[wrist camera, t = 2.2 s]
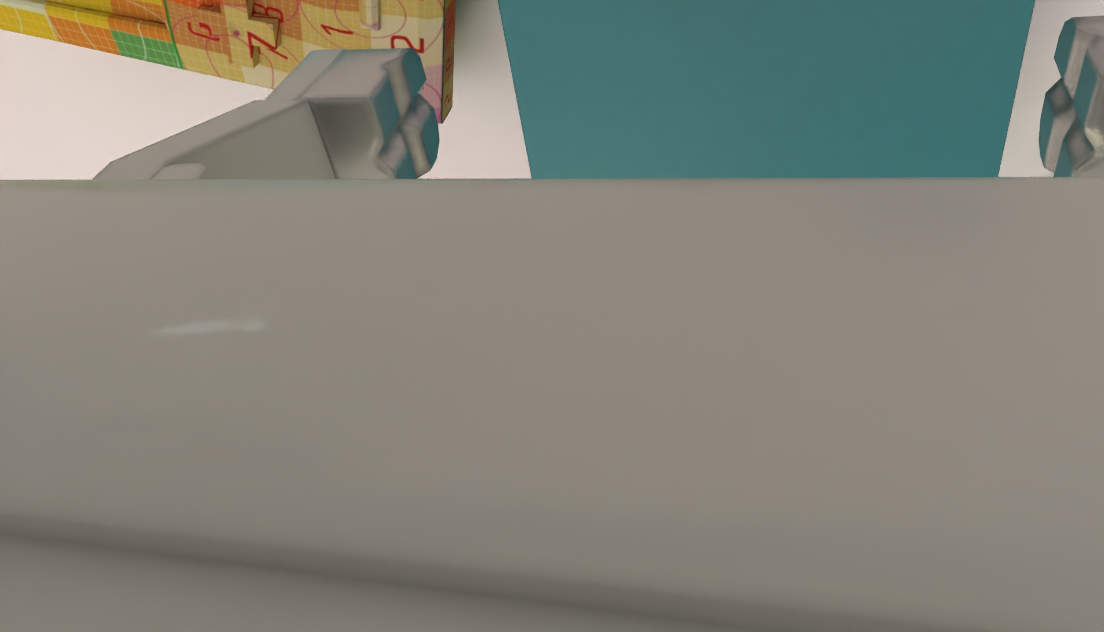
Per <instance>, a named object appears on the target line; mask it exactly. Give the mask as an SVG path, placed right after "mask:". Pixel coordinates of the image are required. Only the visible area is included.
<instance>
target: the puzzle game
mask: <svg viewBox="0 0 1104 632" xmlns="http://www.w3.org/2000/svg"><path fill="white" fill-rule="evenodd" d="M455 6H456V0H0V29H3V30H8V31H12V32H17V33H22V34H26V35H31V36H36V37H40V38H45V39H50V40H54V41H59V42H63V43H68V44H72V45H77V46H81V47H86V48H90V49H95V50H99V51H104V52H108V53H113V54H117V55H122V56H126V57H131V58H135V59H140V60H144V61H149V62H153V63H158V64H162V65H167V66H171V67H175V68H180V69H184V70H189V71H193V72H198V73H202V74H207V75H211V76H216V77H220V78H225V79H229V80H234V81H238V82H243V83H247V84H252V85H256V86H261V87H265V88H270V89H275V88H276V87H277V86H278V85H279V84H280V83H281V82H282V81H283V80H284V79H285V78H286V77H287V76H288V75H289V74H290V73H291V72H292V70H293V69H294V68H295V67H296V66H297V65H298V64H299V63H300V62H301V61H302V60H303V59H304V58H305V57H306V56H307V55H308V54H309V52H310V51H314V50H328V49H343V48H346V49H348V50H350V49H389V48H413V49H414V50H415V51H416V52H417V54H418V55H419V56H420V58H421V61H422V65H423V68H424V72H425V75H426V82H425V84H424V86H423V89H422V91H421V93H420V94H421V95H422V96H423V97H424V98H425V99H426V100H427V101H428V102H429V103H430V104H431V105H432V106H433V107H434V110H435V114H436V118H437V122H438V123H442V124H443V122H444V120H445V118H446V117H447V115H448V113H449V112H450V110H451V108H452V96H453V66H454V36H455Z"/></svg>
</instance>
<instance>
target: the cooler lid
mask: <svg viewBox="0 0 1104 632" xmlns="http://www.w3.org/2000/svg"><path fill="white" fill-rule="evenodd" d="M1034 3H1035V0H498V4H499V9H500V14H501V20H502V25H503V30H504V35H505V41H506V46H507V51H508V56H509V62H510V67H511V72H512V77H513V82H514V88H515V93H516V98H517V103H518V109H519V114H520V119H521V124H522V130H523V135H524V140H525V145H526V150H527V156H528V161H529V166H530V171H531V177H532V179H546V178H884V177H998V174H999V169H1000V164H1001V160H1002V155H1003V150H1004V145H1005V141H1006V136H1007V131H1008V126H1009V122H1010V117H1011V112H1012V107H1013V103H1014V98H1015V93H1016V88H1017V84H1018V79H1019V74H1020V69H1021V65H1022V60H1023V55H1024V51H1025V46H1026V41H1027V36H1028V32H1029V27H1030V22H1031V17H1032V13H1033V8H1034Z"/></svg>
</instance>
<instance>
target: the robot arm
mask: <svg viewBox="0 0 1104 632" xmlns="http://www.w3.org/2000/svg"><path fill="white" fill-rule="evenodd" d="M1054 59H1055V62H1056V64H1057V67H1058V69H1059V72H1060V74H1061V77H1062V78H1061V79H1060V80H1059V81H1058V82H1057V83H1055V84H1054V85H1053V86H1052V87H1051V88H1050V89H1049V90H1048V91H1047V92H1046V94H1045V99H1044V104H1043V109H1042V114H1041V119H1040V132H1039V146H1040V156H1041V159H1042V162H1043V166H1044V168H1046V169H1048V170H1049V171H1051V172H1053V173H1054V177H884V178H546V179H417V178H418V177H420V176H422V175H424V174H425V173H427V172H429V171H430V170H431V168H432V166H433V165H434V163H435V161H436V159H437V153H438V146H439V131H438V122H437V118H436V114H435V110H434V107H433V106H432V105H431V104H430V103H429V102H428V101H427V100H426V99H425V98H424V97H423V96H422V95H421V94H420V93H421V91H422V89H423V86H424V84H425V82H426V75H425V72H424V68H423V65H422V61H421V58H420V56H419V55H418V54H417V52H416V51H415V50H414V49H413V48H389V49H350V50H348V49H346V48H343V49H328V50H314V51H310V52H309V54H308V55H307V56H306V57H305V58H304V59H303V60H302V61H301V62H300V63H299V64H298V65H297V66H296V67H295V68H294V69H293V70H292V72H291V73H290V74H289V75H288V76H287V77H286V78H285V79H284V80H283V81H282V82H281V83H280V84H279V85H278V86H277V87H276V88H275V89H274V91H273V92H272V93H271V94H270V95H269V96H268V97H267V98H266V99H265V100H257V101H253V102H250V103H248V104H246V105H243V106H241V107H239V108H236V109H234V110H232V111H229V112H227V113H225V114H222V115H220V116H217V117H215V118H213V119H210V120H208V121H206V122H203V123H201V124H199V125H196V126H194V127H192V128H189V129H187V130H185V131H182V132H180V133H178V134H175V135H173V136H171V137H168V138H166V139H164V140H161V141H159V142H157V143H154V144H152V145H149V146H147V147H145V148H142V149H140V150H138V151H135V152H133V153H131V154H128V155H126V156H124V157H121V158H119V159H117V160H114V161H112V162H110V163H109V164H108V165H107V166H106V167H105V168H104V169H103V170H102V171H100V172H99V173H98V174H97V175H96V176H95V177H94V178H93V179H92V180H0V632H1104V16H1089V17H1074V18H1071V19H1069V20H1068V21H1066V22H1065V23H1064V26H1063V28H1062V31H1061V33H1060V36H1059V39H1058V43H1057V48H1056V52H1055V56H1054Z"/></svg>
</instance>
